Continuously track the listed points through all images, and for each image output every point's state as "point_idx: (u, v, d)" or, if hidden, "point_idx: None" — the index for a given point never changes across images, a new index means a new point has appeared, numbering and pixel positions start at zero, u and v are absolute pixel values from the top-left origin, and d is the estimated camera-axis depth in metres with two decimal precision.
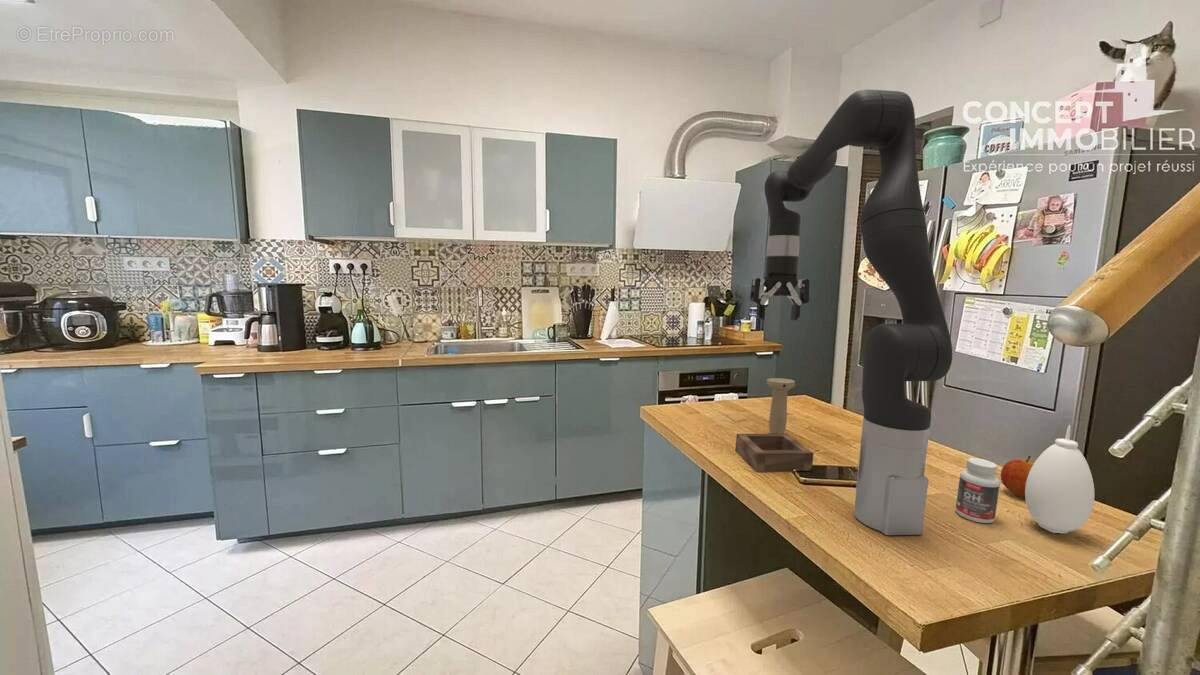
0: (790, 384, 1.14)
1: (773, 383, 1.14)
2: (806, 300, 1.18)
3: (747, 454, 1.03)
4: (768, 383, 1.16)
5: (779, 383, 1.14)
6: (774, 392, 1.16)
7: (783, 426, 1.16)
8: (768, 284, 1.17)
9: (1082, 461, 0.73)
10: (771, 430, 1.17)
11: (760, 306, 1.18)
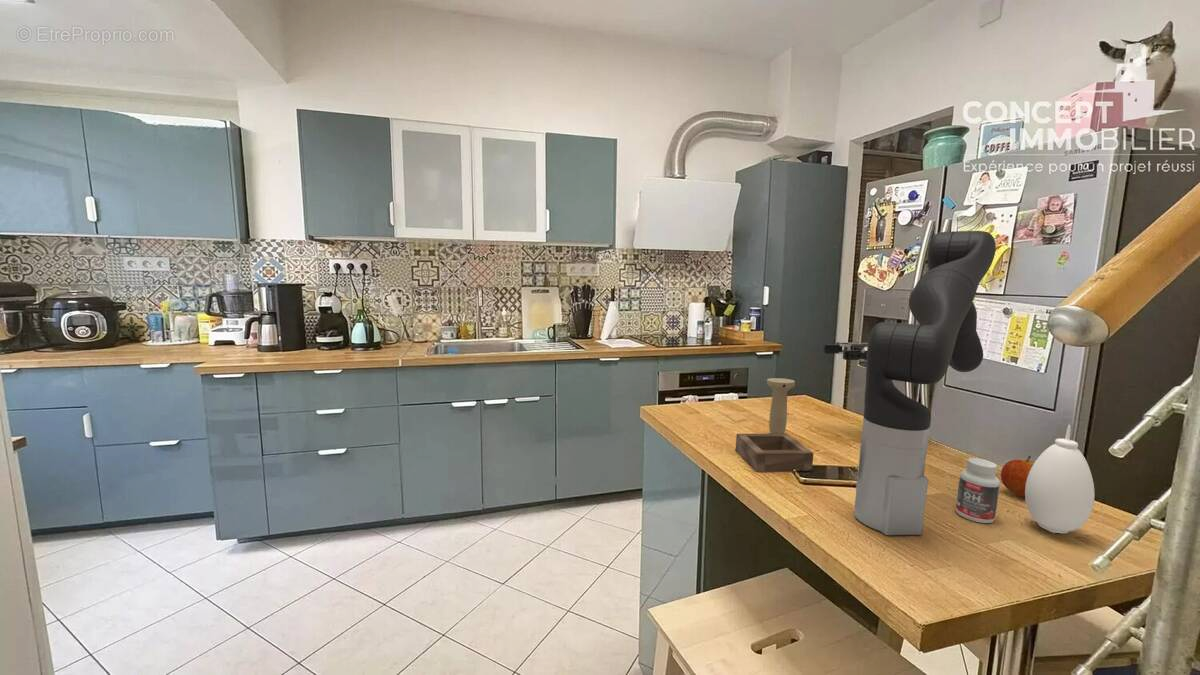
0: (790, 384, 1.14)
1: (773, 383, 1.14)
2: None
3: (747, 454, 1.03)
4: (768, 383, 1.16)
5: (779, 383, 1.14)
6: (774, 392, 1.16)
7: (783, 426, 1.16)
8: None
9: (1082, 461, 0.73)
10: (771, 430, 1.17)
11: None
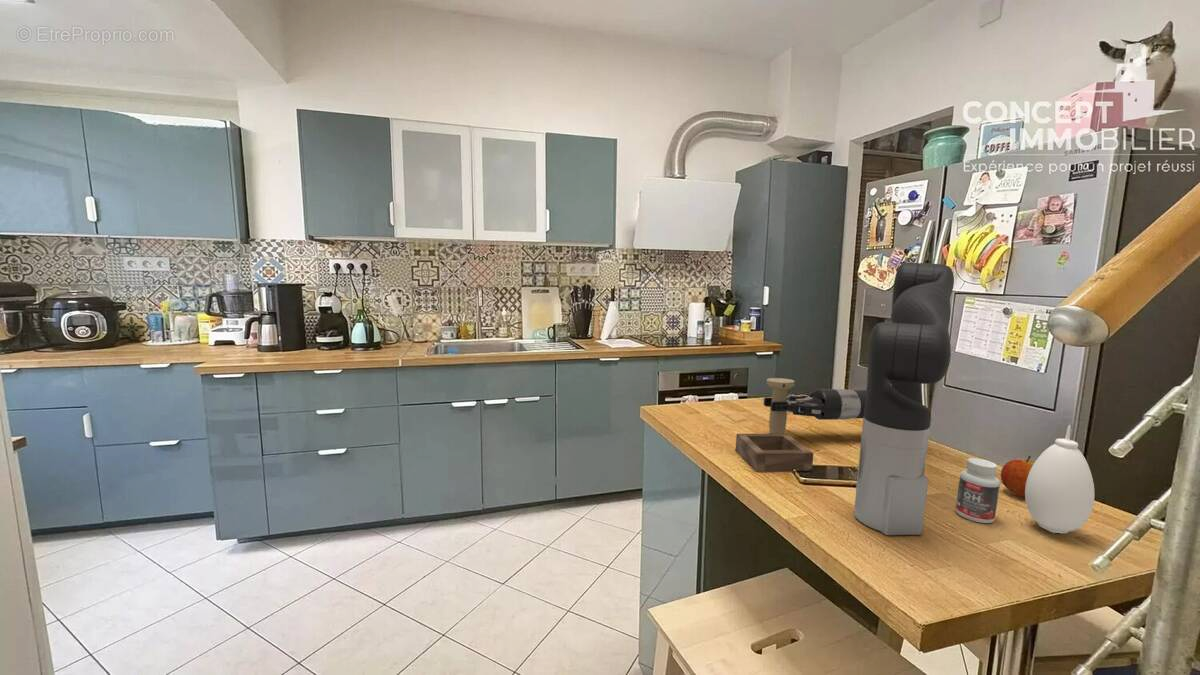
0: (790, 384, 1.14)
1: (773, 383, 1.14)
2: (796, 403, 1.13)
3: (747, 454, 1.03)
4: (768, 383, 1.16)
5: (779, 383, 1.14)
6: (774, 392, 1.16)
7: (783, 426, 1.16)
8: None
9: (1082, 461, 0.73)
10: (771, 430, 1.17)
11: None
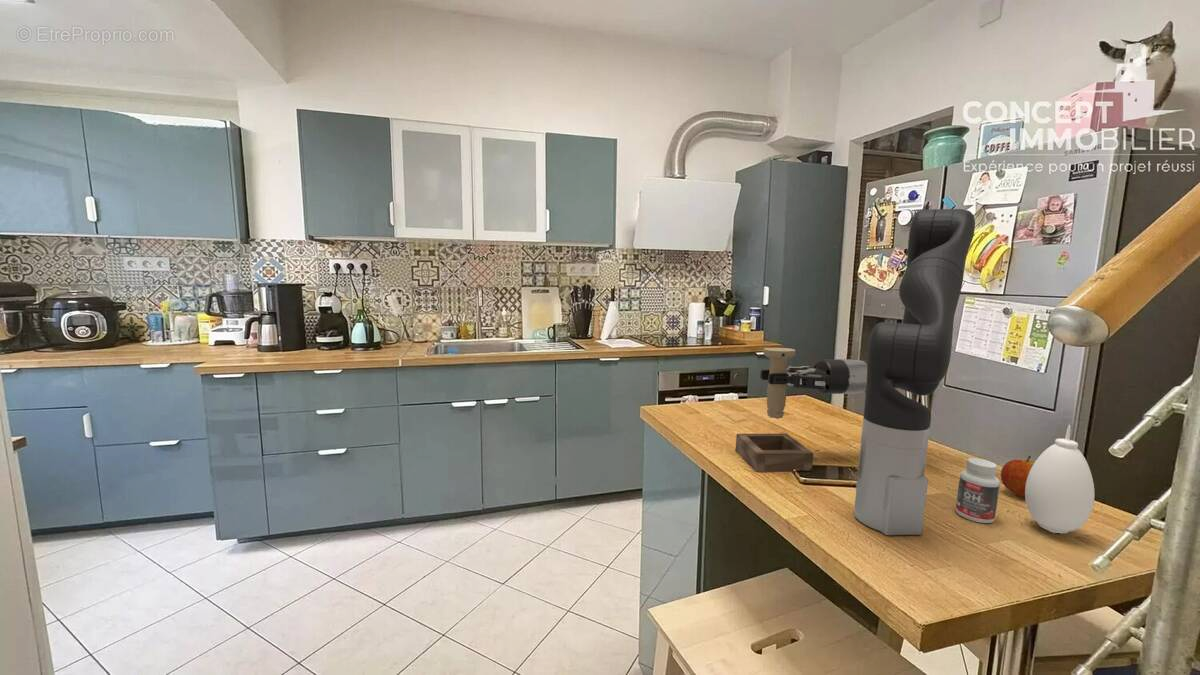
0: (790, 353, 1.00)
1: (770, 352, 1.00)
2: (797, 375, 0.98)
3: (747, 454, 1.03)
4: (765, 352, 1.02)
5: (777, 352, 1.00)
6: (772, 363, 1.02)
7: (782, 402, 1.02)
8: None
9: (1082, 461, 0.73)
10: (769, 406, 1.03)
11: None
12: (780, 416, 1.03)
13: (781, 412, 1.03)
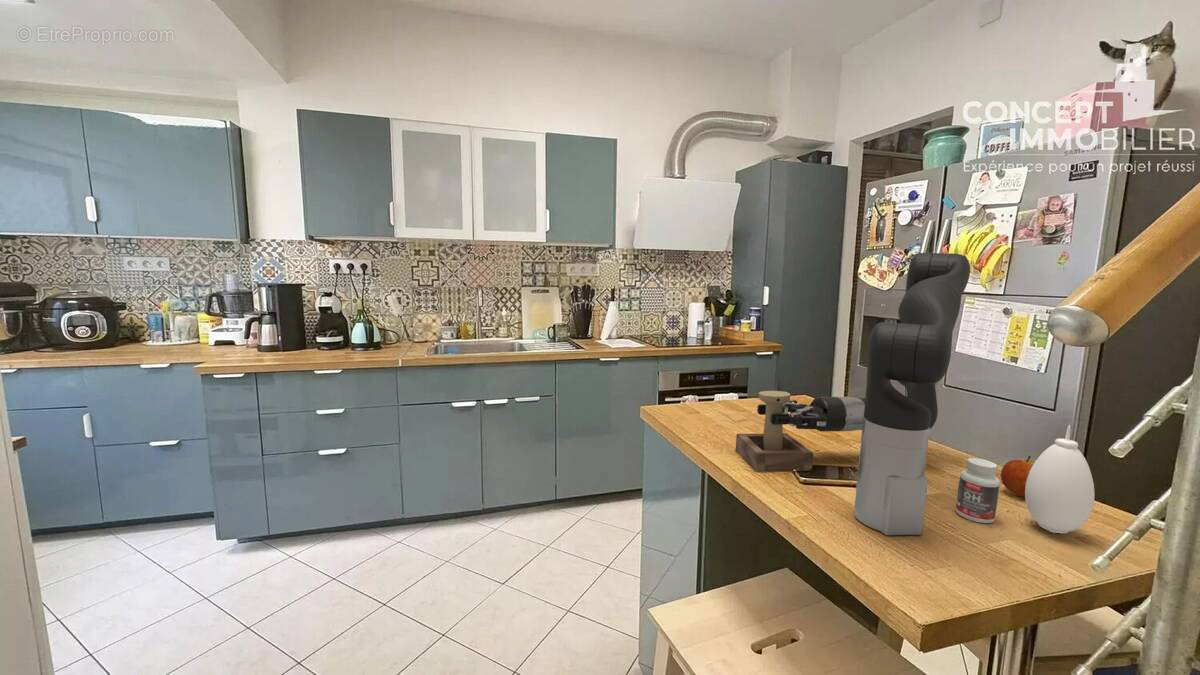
0: (785, 398, 1.01)
1: (765, 397, 1.01)
2: (800, 416, 0.98)
3: (747, 454, 1.03)
4: (760, 397, 1.02)
5: (772, 397, 1.00)
6: (767, 407, 1.03)
7: (779, 445, 1.03)
8: None
9: (1082, 461, 0.73)
10: None
11: None
12: None
13: None
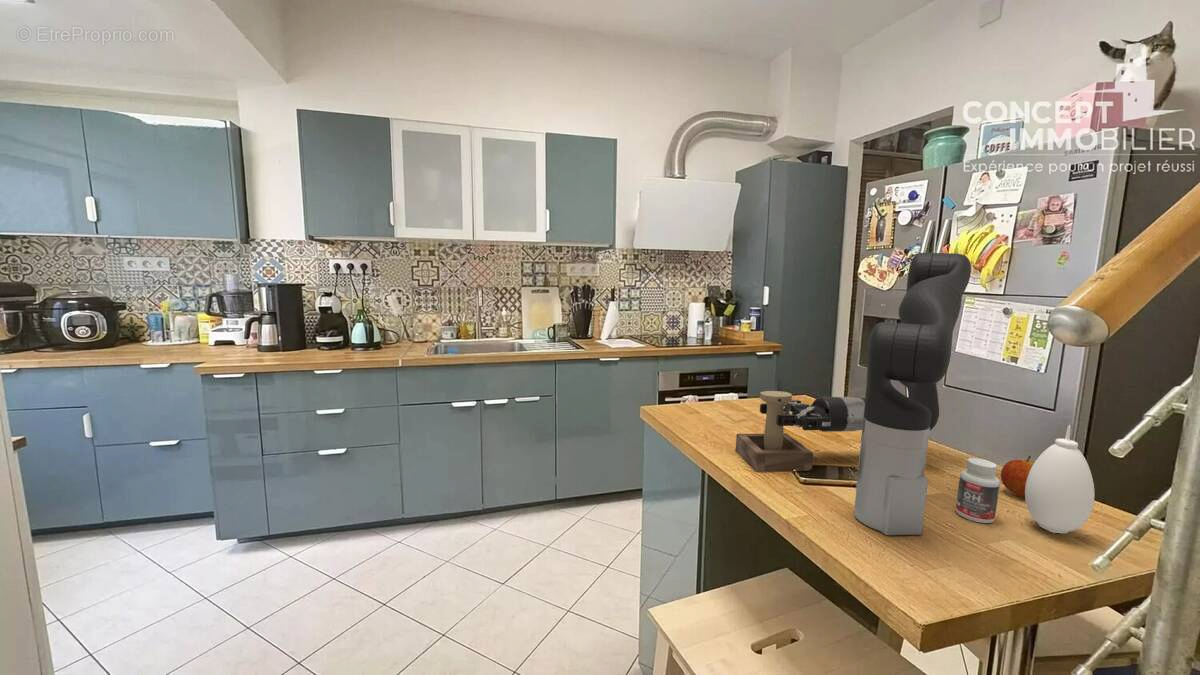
0: (786, 398, 1.01)
1: (767, 397, 1.01)
2: (806, 417, 0.97)
3: (747, 454, 1.03)
4: (762, 397, 1.02)
5: (774, 397, 1.00)
6: (769, 407, 1.03)
7: (779, 446, 1.03)
8: None
9: (1082, 461, 0.73)
10: None
11: None
12: None
13: None
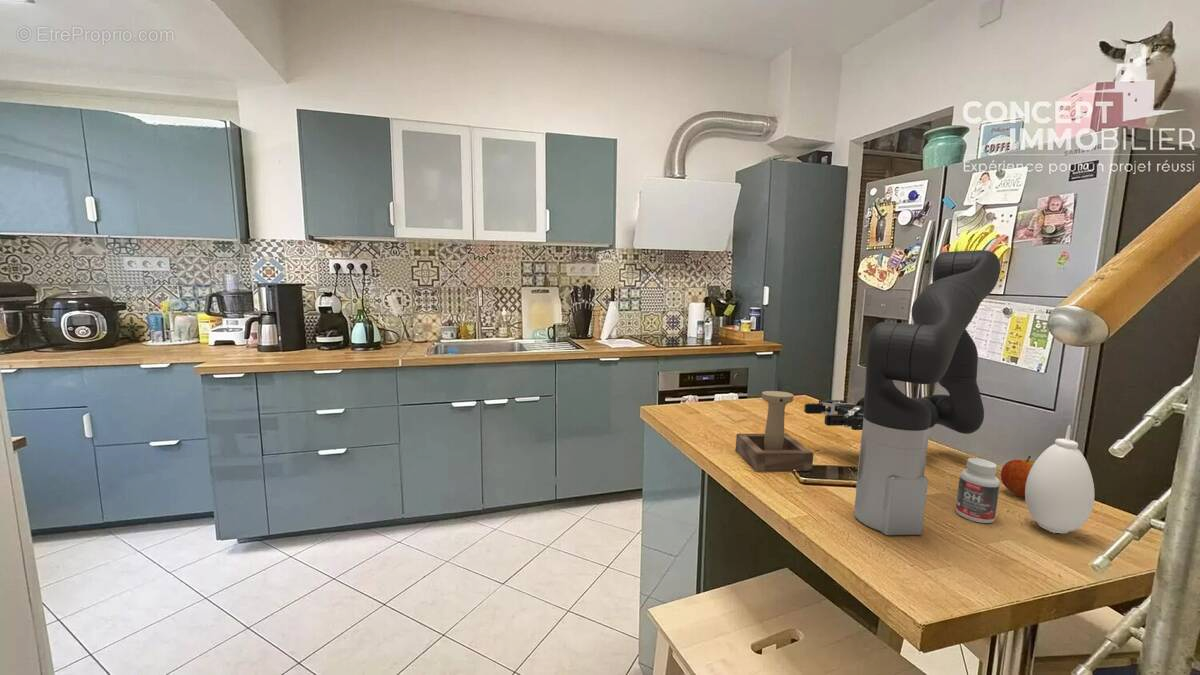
0: (788, 398, 1.01)
1: (769, 397, 1.01)
2: (855, 417, 0.98)
3: (747, 454, 1.03)
4: (763, 397, 1.02)
5: (775, 397, 1.00)
6: (770, 407, 1.03)
7: (780, 446, 1.03)
8: None
9: (1082, 461, 0.73)
10: None
11: None
12: None
13: None
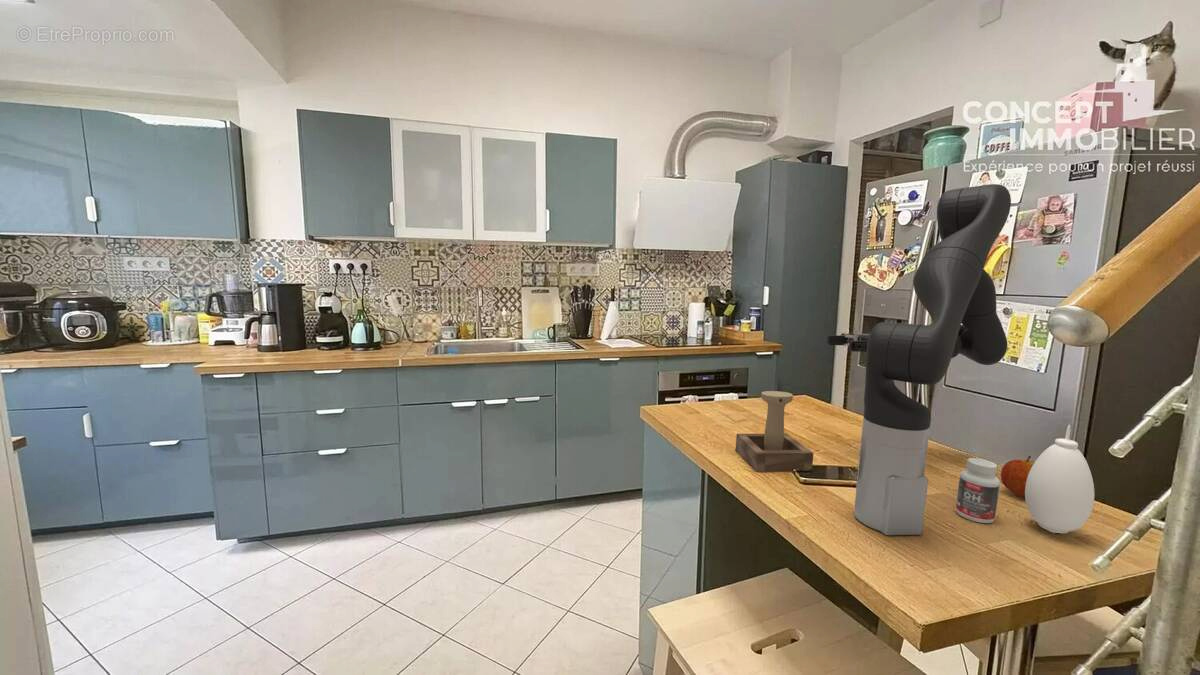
0: (787, 398, 1.01)
1: (768, 397, 1.01)
2: None
3: (747, 454, 1.03)
4: (762, 397, 1.02)
5: (775, 397, 1.00)
6: (769, 407, 1.03)
7: (780, 446, 1.03)
8: None
9: (1082, 461, 0.73)
10: None
11: None
12: None
13: None
